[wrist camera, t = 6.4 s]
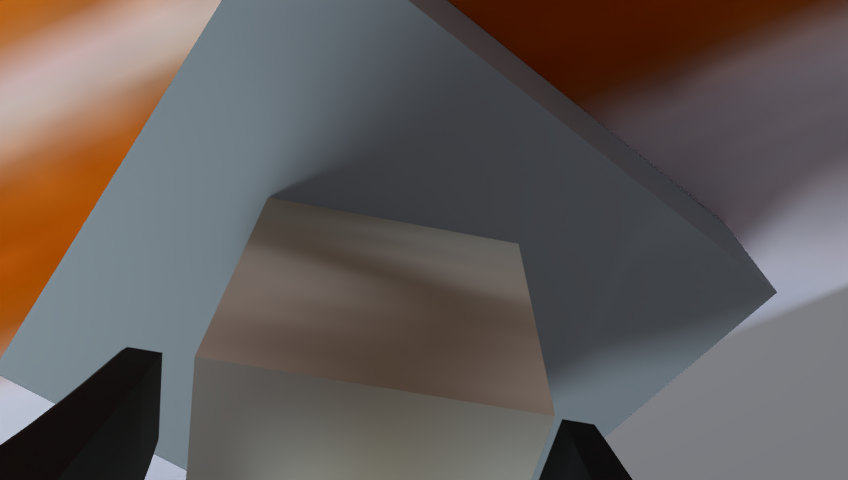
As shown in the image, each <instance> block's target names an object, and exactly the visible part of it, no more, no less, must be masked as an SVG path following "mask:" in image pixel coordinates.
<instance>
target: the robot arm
mask: <svg viewBox="0 0 848 480" xmlns="http://www.w3.org/2000/svg"><path fill="white" fill-rule="evenodd" d="M162 354H163V353H161V352H155V351H149V350H143V349H137V348H131V347H126V348H124V349H123V350H121V351H120V352H119V353H117V354H116V355H115V356H114V357H113V358H111V359H110V360H109V361H108V362H107V363H106V364H104V365H103V366H102V367H101V368H100V369H99V370H97V371H96V372H95V373H94V374H93V375H91V376H90V377H89V378H88V379H87V380H85V381H84V382H83V383H82V384H81V385H79V386H78V387H77V388H76V389H74V390H73V391H72V392H71V393H70V394H68V395H67V396H66V397H65V398H63V399H62V400H61V401H59V402H58V403H57V404H55V405H54V406H53V407H52V408H50V409H49V410H48V411H46V412H45V413H44V414H43V415H41V416H40V417H39V418H37V419H36V420H35V421H33V422H32V423H31V424H29V425H28V426H27V427H25V428H24V429H23V430H21V431H20V432H18V433H17V434H16V435H14V436H13V437H11V438H10V439H8V440H7V441H6V442H4V443H3V444H1V445H0V480H144V479H145V476H146V474H147V471H148V468H149V466H150V463H151V460H152V457H153V454H154V452H155V449H156V446H157V443H158V440H159V422H160V399H161V376H162ZM539 480H632V478H631V477H630V475H629V474H628V472H627V471H626V470H625V468H624V467H623V465H622V464H621V462H620V461H619V459H618V458H617V456H616V455H615V453H614V452H613V451H612V449H611V448H610V446H609V445H608V443H607V442H606V440H605V439H604V437H603V436H602V434H601V433H600V431H599V430H598V429H597V427H596V426H595V424H589V423H583V422H577V421H571V420H565V419H562V421H561V424H560V426H559V429H558V431H557V434H556V436H555V439H554V442H553V444H552V447H551V449H550V452H549V455H548V457H547V460H546V462H545V465H544V467H543V470H542V473H541V475H540V478H539Z"/></svg>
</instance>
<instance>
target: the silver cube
mask: <svg viewBox="0 0 848 480" xmlns="http://www.w3.org/2000/svg"><path fill="white" fill-rule="evenodd" d="M554 418H555V412H554V408H553V403H552V398H551V394H550V389H549V384H548V380H547V375H546V370H545V366H544V361H543V356H542V351H541V347H540V342H539V337H538V333H537V328H536V323H535V319H534V314H533V309H532V305H531V300H530V295H529V290H528V286H527V281H526V276H525V272H524V267H523V262H522V258H521V253H520V248H519V244H517V243H511V242H506V241H501V240H495V239H490V238H485V237H479V236H474V235H469V234H463V233H458V232H452V231H447V230H442V229H436V228H431V227H426V226H420V225H415V224H409V223H404V222H399V221H393V220H388V219H383V218H377V217H372V216H367V215H361V214H356V213H350V212H345V211H340V210H334V209H329V208H324V207H318V206H313V205H308V204H302V203H297V202H291V201H286V200H281V199H275V198H270V197H268V198H267V200H266V202H265V205H264V207H263V209H262V211H261V213H260V216H259V218H258V220H257V222H256V224H255V226H254V229H253V231H252V233H251V235H250V237H249V239H248V242H247V244H246V246H245V248H244V250H243V253H242V255H241V257H240V259H239V261H238V263H237V266H236V268H235V270H234V272H233V274H232V276H231V279H230V281H229V283H228V285H227V287H226V290H225V292H224V294H223V296H222V298H221V300H220V303H219V305H218V307H217V309H216V311H215V313H214V316H213V318H212V320H211V322H210V324H209V327H208V329H207V331H206V333H205V335H204V337H203V340H202V342H201V344H200V346H199V348H198V350H197V353H196V355H195V360H194V375H193V389H192V403H191V418H190V432H189V446H188V460H187V475H186V480H531V479H532V476H533V474H534V471H535V469H536V466H537V463H538V461H539V458H540V455H541V453H542V450H543V447H544V445H545V442H546V440H547V437H548V434H549V432H550V429H551V426H552V424H553V421H554Z"/></svg>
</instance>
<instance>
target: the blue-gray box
mask: <svg viewBox="0 0 848 480" xmlns="http://www.w3.org/2000/svg"><path fill="white" fill-rule="evenodd" d="M268 197H270V198H275V199H281V200H286V201H291V202H297V203H302V204H308V205H313V206H318V207H324V208H329V209H334V210H340V211H345V212H350V213H356V214H361V215H367V216H372V217H377V218H383V219H388V220H393V221H399V222H404V223H409V224H415V225H420V226H426V227H431V228H436V229H442V230H447V231H452V232H458V233H463V234H469V235H474V236H479V237H485V238H490V239H495V240H501V241H506V242H511V243H517V244H519V248H520V253H521V258H522V262H523V267H524V272H525V276H526V281H527V286H528V290H529V295H530V300H531V305H532V309H533V314H534V319H535V323H536V328H537V333H538V337H539V342H540V347H541V351H542V356H543V361H544V366H545V370H546V375H547V380H548V384H549V389H550V394H551V398H552V403H553V408H554V412H555V418H554V421H553V424H552V426H551V429H550V432H549V434H548V437H547V440H546V442H545V445H544V447H543V450H542V453H541V455H540V458H539V461H538V463H537V466H536V469H535V471H534V474H533V476H532V479H531V480H539V478H540V475H541V473H542V470H543V467H544V465H545V462H546V460H547V457H548V455H549V452H550V449H551V447H552V444H553V442H554V439H555V436H556V434H557V431H558V429H559V426H560V424H561V421H562V419H565V420H571V421H577V422H583V423H589V424H595V426H596V427H597V429H598V430H599V431H600V433H601V434H602V436H603V437H605V436H607V435H608V434H609V433H610V432H611V431H612V430H614V429H615V428H616V427H617V426H619V425H620V424H621V423H622V422H623V421H624V420H626V419H627V418H628V417H629V416H630V415H632V414H633V413H634V412H635V411H636V410H638V408H640V407H641V406H642V405H643V404H645V403H646V402H647V401H648V400H649V399H651V398H652V397H653V396H654V395H655V394H656V393H658V392H659V391H660V390H661V389H662V388H664V387H665V386H666V385H667V384H669V383H670V382H671V381H672V380H673V379H674V378H676V377H677V376H678V375H679V374H680V373H682V372H683V371H684V370H685V369H686V368H688V367H689V366H690V365H691V364H692V363H693V362H695V361H696V360H697V359H698V358H699V357H701V356H702V355H703V354H704V353H705V352H707V351H708V350H709V349H710V348H711V347H713V346H714V345H715V344H716V343H717V342H719V341H720V340H721V339H722V338H723V337H724V336H726V335H727V334H728V333H729V332H730V331H732V330H733V329H734V328H735V327H736V326H738V325H739V324H740V323H741V322H742V321H744V320H745V319H746V318H747V317H748V316H749V315H751V314H752V313H753V312H754V311H755V310H757V309H758V308H759V307H760V306H761V305H763V304H764V303H765V302H766V301H767V300H769V299H770V298H771V297H772V296H773V295H774V294H776V293H777V292H776V290H775V289H774V288H773V286H772V285H771V284H770V282H769V281H768V280H767V278H766V277H765V276H764V274H763V273H762V272H761V271H760V269H759V268H758V267H757V265H756V264H755V263H754V261H753V260H752V259H751V257H750V256H749V255H748V253H747V252H746V251H745V250H744V248H743V247H742V246H741V244H740V243H739V242H738V240H737V239H736V238H735V236H734V235H733V234H732V232H731V231H730V230H729V229H728V227H727V226H726V225H725V224H724V223H723V222H721V221H720V220H719V219H718V218H716V217H715V216H714V215H713V214H711V213H710V212H709V211H708V210H706V209H705V208H704V207H703V206H702V205H700V204H699V203H698V202H697V201H695V200H694V199H693V198H692V197H690V196H689V195H688V194H687V193H685V192H684V191H683V190H682V189H680V188H679V187H678V186H677V185H675V184H674V183H673V182H672V181H671V180H669V179H668V178H667V177H666V176H664V175H663V174H662V173H661V172H659V171H658V170H657V169H656V168H654V167H653V166H652V165H651V164H649V163H648V162H647V161H646V160H644V159H643V158H642V157H641V156H640V155H638V154H637V153H636V152H635V151H633V150H632V149H631V148H630V147H628V146H627V145H626V144H625V143H623V142H622V141H621V140H620V139H618V138H617V137H616V136H615V135H613V134H612V133H611V132H610V131H609V130H607V129H606V128H605V127H604V126H602V125H601V124H600V123H599V122H597V121H596V120H595V119H594V118H592V117H591V116H590V115H589V114H587V113H586V112H585V111H584V110H582V109H581V108H580V107H579V106H578V105H576V104H575V103H574V102H573V101H571V100H570V99H569V98H568V97H566V96H565V95H564V94H563V93H561V92H560V91H559V90H558V89H556V88H555V87H554V86H553V85H551V84H550V83H549V82H548V81H547V80H545V79H544V78H543V77H542V76H540V75H539V74H538V73H537V72H535V71H534V70H533V69H532V68H530V67H529V66H528V65H527V64H525V63H524V62H523V61H522V60H521V59H519V58H518V57H517V56H516V55H514V54H513V53H512V52H511V51H509V50H508V49H507V48H506V47H504V46H503V45H502V44H501V43H499V42H498V41H497V40H496V39H494V38H493V37H492V36H491V35H490V34H488V33H487V32H486V31H485V30H483V29H482V28H481V27H480V26H478V25H477V24H476V23H475V22H473V21H472V20H471V19H470V18H468V17H467V16H466V15H465V14H463V13H462V12H461V11H460V10H459V9H457V8H456V7H455V6H454V5H452V4H451V3H450V2H449V1H447V0H222V1H221V3H220V4H219V6H218V8H217V9H216V11H215V12H214V14H213V16H212V17H211V19H210V20H209V22H208V24H207V25H206V27H205V29H204V30H203V32H202V33H201V35H200V37H199V38H198V40H197V42H196V43H195V45H194V46H193V48H192V50H191V51H190V53H189V55H188V56H187V58H186V59H185V61H184V63H183V64H182V66H181V67H180V69H179V71H178V72H177V74H176V76H175V77H174V79H173V80H172V82H171V84H170V85H169V87H168V89H167V90H166V92H165V93H164V95H163V97H162V98H161V100H160V102H159V103H158V105H157V106H156V108H155V110H154V111H153V113H152V114H151V116H150V118H149V119H148V121H147V123H146V124H145V126H144V127H143V129H142V131H141V132H140V134H139V136H138V137H137V139H136V140H135V142H134V144H133V145H132V147H131V148H130V150H129V152H128V153H127V155H126V157H125V158H124V160H123V161H122V163H121V165H120V166H119V168H118V170H117V171H116V173H115V174H114V176H113V178H112V179H111V181H110V183H109V184H108V186H107V187H106V189H105V191H104V192H103V194H102V195H101V197H100V199H99V200H98V202H97V204H96V205H95V207H94V208H93V210H92V212H91V213H90V215H89V217H88V218H87V220H86V221H85V223H84V225H83V226H82V228H81V229H80V231H79V233H78V234H77V236H76V238H75V239H74V241H73V242H72V244H71V246H70V247H69V249H68V251H67V252H66V254H65V255H64V257H63V259H62V260H61V262H60V264H59V265H58V267H57V268H56V270H55V272H54V273H53V275H52V276H51V278H50V280H49V281H48V283H47V285H46V286H45V288H44V289H43V291H42V293H41V294H40V296H39V298H38V299H37V301H36V302H35V304H34V306H33V307H32V309H31V311H30V312H29V314H28V315H27V317H26V319H25V320H24V322H23V323H22V325H21V327H20V328H19V330H18V332H17V333H16V335H15V336H14V338H13V340H12V341H11V343H10V345H9V346H8V348H7V349H6V351H5V353H4V354H3V356H2V357H1V359H0V376H2V377H4V378H6V379H8V380H10V381H12V382H14V383H16V384H18V385H20V386H22V387H24V388H26V389H27V390H29V391H31V392H33V393H35V394H37V395H39V396H41V397H43V398H45V399H47V400H49V401H51V402H53V403H55V404H57V403H58V402H59V401H61V400H62V399H63V398H65V397H66V396H67V395H68V394H70V393H71V392H72V391H73V390H74V389H76V388H77V387H78V386H79V385H81V384H82V383H83V382H84V381H85V380H87V379H88V378H89V377H90V376H91V375H93V374H94V373H95V372H96V371H97V370H99V369H100V368H101V367H102V366H103V365H104V364H106V363H107V362H108V361H109V360H110V359H111V358H113V357H114V356H115V355H116V354H117V353H119V352H120V351H121V350H123V349H124V348H126V347H131V348H137V349H143V350H149V351H155V352H161V353H163V354H162V376H161V399H160V422H159V440H158V443H157V446H156V449H155V452H154V454H155V455H157V456H159V457H161V458H163V459H165V460H167V461H169V462H171V463H173V464H174V465H176V466H178V467H180V468H182V469H184V470H186V471H187V460H188V446H189V432H190V418H191V403H192V389H193V375H194V360H195V355H196V353H197V350H198V348H199V346H200V344H201V342H202V340H203V337H204V335H205V333H206V331H207V329H208V327H209V324H210V322H211V320H212V318H213V316H214V313H215V311H216V309H217V307H218V305H219V303H220V300H221V298H222V296H223V294H224V292H225V290H226V287H227V285H228V283H229V281H230V279H231V276H232V274H233V272H234V270H235V268H236V266H237V263H238V261H239V259H240V257H241V255H242V253H243V250H244V248H245V246H246V244H247V242H248V239H249V237H250V235H251V233H252V231H253V229H254V226H255V224H256V222H257V220H258V218H259V216H260V213H261V211H262V209H263V207H264V205H265V202H266V200H267V198H268Z"/></svg>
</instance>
